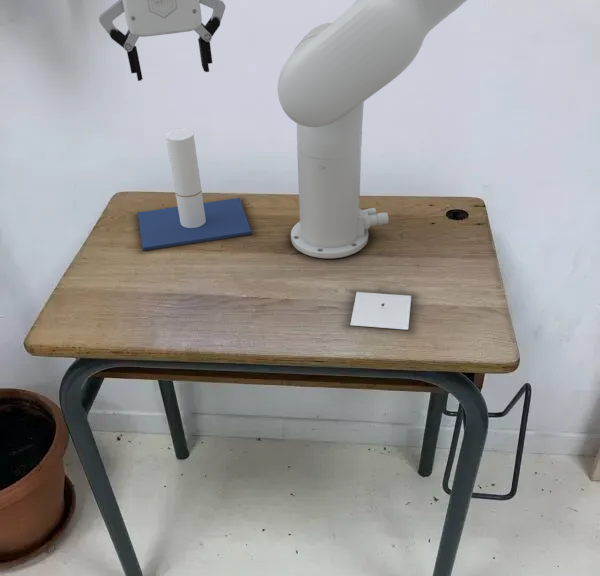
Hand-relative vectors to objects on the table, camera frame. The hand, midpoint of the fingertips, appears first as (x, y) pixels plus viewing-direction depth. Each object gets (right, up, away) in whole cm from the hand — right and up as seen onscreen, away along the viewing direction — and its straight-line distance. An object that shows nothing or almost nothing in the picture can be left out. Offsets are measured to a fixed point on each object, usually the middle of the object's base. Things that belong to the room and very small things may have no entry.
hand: (172, 73), depth 101 cm
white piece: (+30, -35, -2) cm, 46 cm away
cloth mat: (0, -18, +17) cm, 25 cm away
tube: (0, -17, +17) cm, 24 cm away
